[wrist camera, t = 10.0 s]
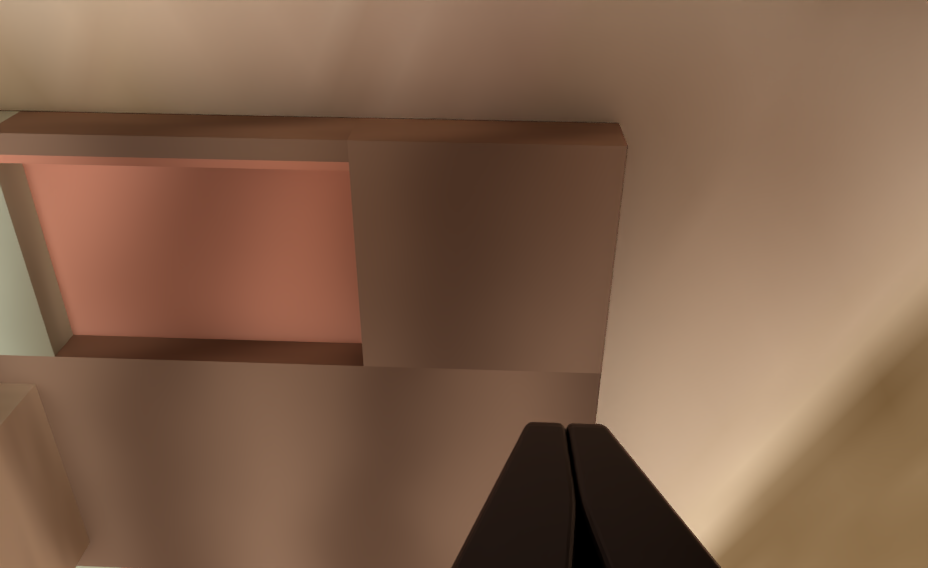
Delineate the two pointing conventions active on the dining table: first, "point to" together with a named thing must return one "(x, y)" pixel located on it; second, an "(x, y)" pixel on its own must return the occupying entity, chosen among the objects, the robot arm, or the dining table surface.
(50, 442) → the maple block
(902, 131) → the dining table surface
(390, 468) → the trap deck
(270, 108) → the dining table surface
